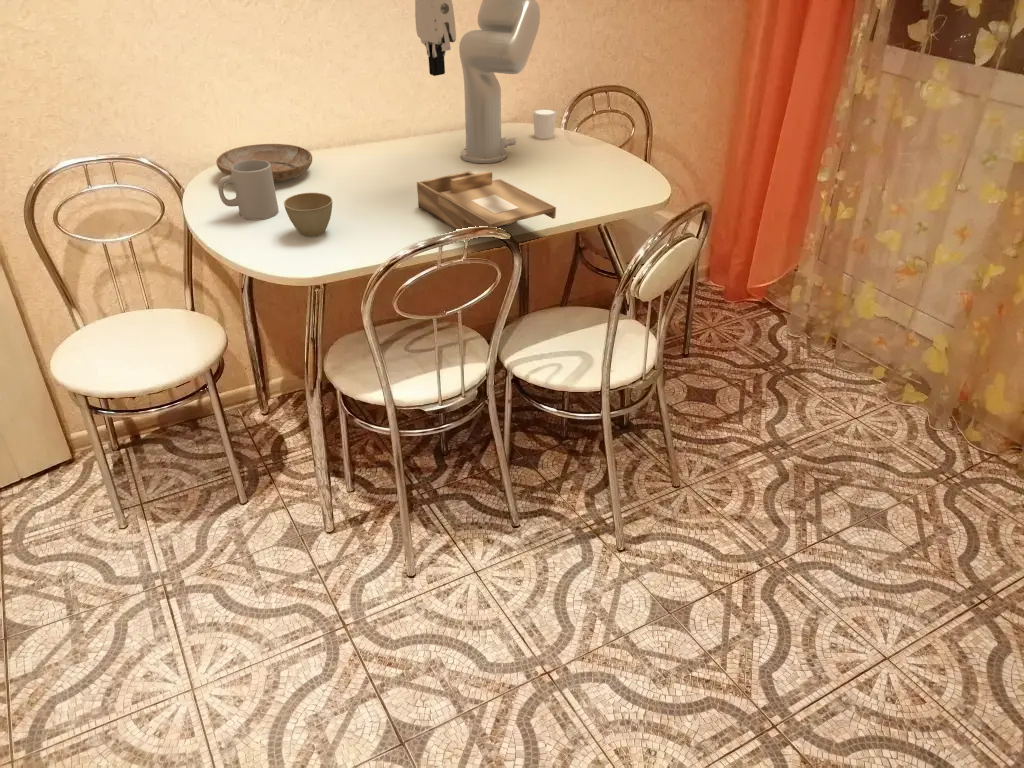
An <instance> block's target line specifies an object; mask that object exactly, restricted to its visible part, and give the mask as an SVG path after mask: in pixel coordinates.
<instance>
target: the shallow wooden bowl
mask: <svg viewBox="0 0 1024 768" xmlns="http://www.w3.org/2000/svg"><path fill="white" fill-rule="evenodd" d="M246 160H264V161H267V162H269V163H270V165H271V170H272V176H273V182H274V184H275V183H279V182H284V181H288V180H291V179H294V178H297V177H298V176H301V175H303V174H304V173H306V171H307V170H309V168H310V166H311V165H312V163H313V154H312V152H310V150H308V149H307V148H303V147H302V146H299V145H293V144H285V143H258V144H251V145H250V144H249V145H242V146H238V147H235V148H232V149H229V150H227V151H225V152H223V153H221V154H220V155H219V156H218V157H216V161H215V162H216V166H217V169H218V170H219V171H220V172H221V173H222V174H223V175H224V176H228V175H231V174H232V172H231V167H232V165H234V164H235V163H238V162H241V161H246Z"/></svg>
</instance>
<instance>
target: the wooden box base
mask: <svg viewBox="0 0 1024 768" xmlns="http://www.w3.org/2000/svg"><path fill="white" fill-rule="evenodd" d="M473 174H475V173H474V172H472V171H470V170H467V171H463V172H458V173H453V174H450V175H449V174H448V175H445V176H440V177H435V178H431V179H427V180H422V181H421V180H420V181H417V182H416V189H417V203H418V204H417V206H418V208H419V209H420V210H422V211H423V212H425V213H426V214H428V215H430V216H432V217H433V218H434V219H436V220H437V221H439V222H441V223H442V224H444V225H445V226H447V227H449V228H450V229H452V230H453V231H455V230H456V229H462V228H468V227H475V226H474V225H472V224H471V223H469V222H467V221H466V220H464V219H462V218H461V217H459V216H457V215H456V214H454V213H452V212H451V211H449V210H447V209H446V208H444V207H442V206H441V205H439V204H438V193H441V192H446V191H450V190H451V180H450V179H454V178H459V177H463V176H468V175H473ZM518 222H519V221H516V222H512V223H508V224H504V225H501V226H497V228H500V227H503V226H507V225H511V224H515V223H518Z"/></svg>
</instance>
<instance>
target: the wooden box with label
mask: <svg viewBox="0 0 1024 768" xmlns="http://www.w3.org/2000/svg"><path fill="white" fill-rule="evenodd" d="M450 180H451V190H450V191H446V192H441V193H438V204H439V205H441V206H442V207H444V208H446V209H447V210H449V211H451V212H452V213H454V214H456V215H457V216H459V217H461V218H462V219H464V220H466V221H467V222H469V223H471V224H472V225H474V226H476V227H479V226H488V227H497V226H501V225H504V224H508V223H512V222H516V221H518V222H519V221H522V220H526V219H529V218H530V219H531V218H534V217H538V216H542V215H544V216H547V217H548V218H551V219H553V220H554V219H556V212H557V209H556V208H557V207H556V206H554V205H552V204H550V203H548V202H546V201H544V200H542V199H540V198H538V197H536V196H534V195H532V194H530V193H528V192H526V191H524V190H523V189H520V188H518V187H516V186H514V185H513V184H510V183H508V182H506V181H505V180H503V179H501V178H499V179H495V180H493V172H492V171H490V170H487V171H483V172H478V173H474V174H473V175H468V176H463V177H459V178H454V179H450ZM516 223H517V222H516ZM512 224H513V223H512ZM508 225H509V224H508ZM504 226H505V225H504ZM501 227H502V226H501ZM497 228H498V227H497Z"/></svg>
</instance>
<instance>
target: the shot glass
mask: <svg viewBox="0 0 1024 768" xmlns="http://www.w3.org/2000/svg"><path fill="white" fill-rule="evenodd" d="M557 112H558V111H556V110H553V109H548V108H544V109H542V108H541V109H535V110H533V111H532V117H533V118H532V119H533V131H534V133H533V134H534V138H536V139H539V140H551V139H553V138H554V137H555V131H556V130H555V129H556V121H557Z"/></svg>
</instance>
